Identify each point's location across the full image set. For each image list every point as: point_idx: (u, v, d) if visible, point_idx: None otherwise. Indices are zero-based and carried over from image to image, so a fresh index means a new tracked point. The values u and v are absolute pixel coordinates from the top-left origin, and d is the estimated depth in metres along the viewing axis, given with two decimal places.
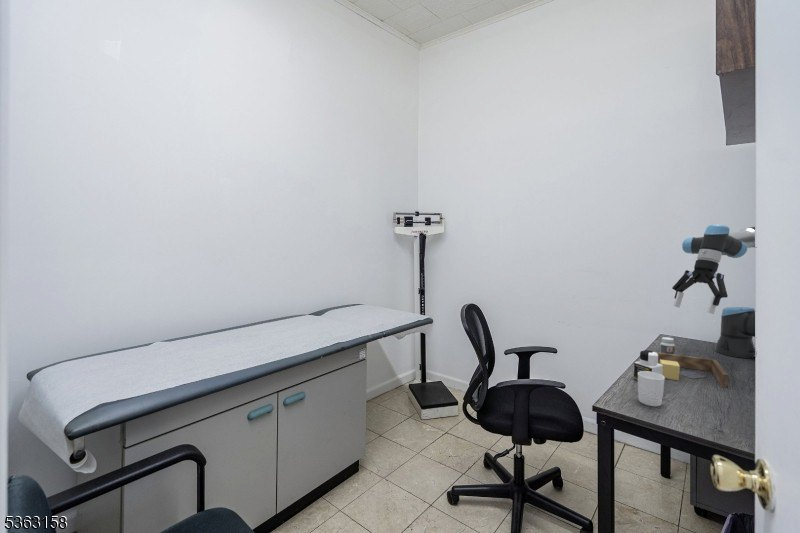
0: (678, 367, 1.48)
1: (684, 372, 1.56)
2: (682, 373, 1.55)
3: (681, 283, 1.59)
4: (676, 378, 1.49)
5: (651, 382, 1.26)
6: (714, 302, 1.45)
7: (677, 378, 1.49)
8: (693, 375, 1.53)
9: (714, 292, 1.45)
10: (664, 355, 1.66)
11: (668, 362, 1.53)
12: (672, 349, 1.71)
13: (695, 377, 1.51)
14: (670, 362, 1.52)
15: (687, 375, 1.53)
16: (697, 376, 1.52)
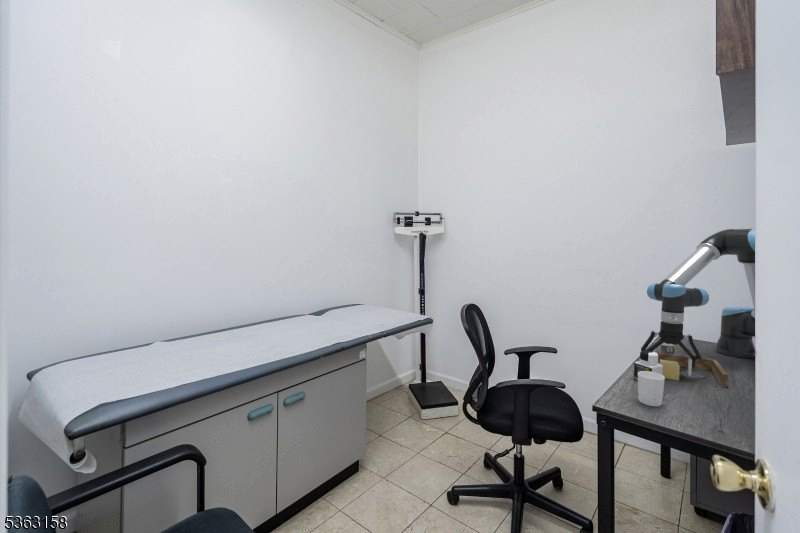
0: (678, 367, 1.48)
1: (684, 372, 1.56)
2: (682, 373, 1.55)
3: (648, 344, 1.55)
4: (676, 378, 1.49)
5: (651, 382, 1.26)
6: (692, 365, 1.48)
7: (677, 378, 1.49)
8: (693, 375, 1.53)
9: (691, 355, 1.47)
10: (664, 355, 1.66)
11: (668, 362, 1.53)
12: (672, 349, 1.71)
13: (695, 377, 1.51)
14: (670, 362, 1.52)
15: (687, 375, 1.53)
16: (697, 376, 1.52)
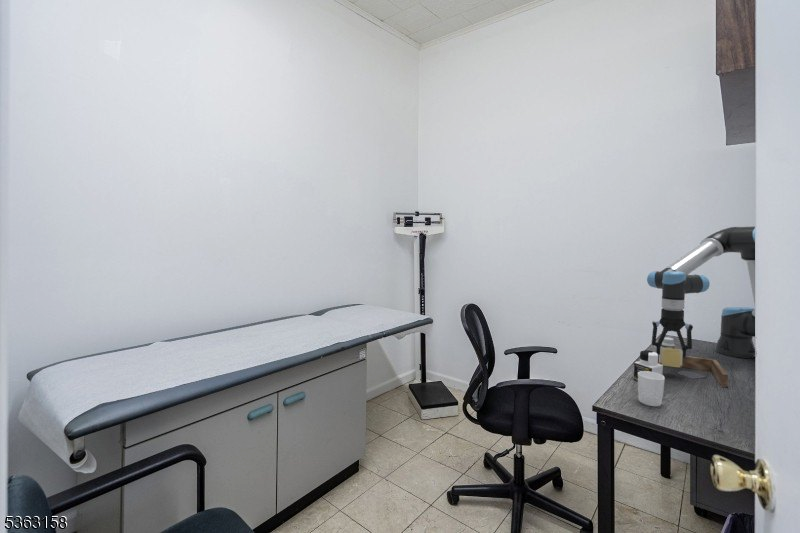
0: (679, 354, 1.48)
1: (684, 372, 1.56)
2: (682, 373, 1.55)
3: None
4: (677, 365, 1.49)
5: (651, 382, 1.26)
6: (683, 355, 1.49)
7: (678, 365, 1.48)
8: (693, 375, 1.53)
9: (683, 345, 1.48)
10: None
11: (669, 349, 1.52)
12: None
13: (695, 377, 1.51)
14: (671, 350, 1.52)
15: (687, 375, 1.53)
16: (697, 376, 1.52)
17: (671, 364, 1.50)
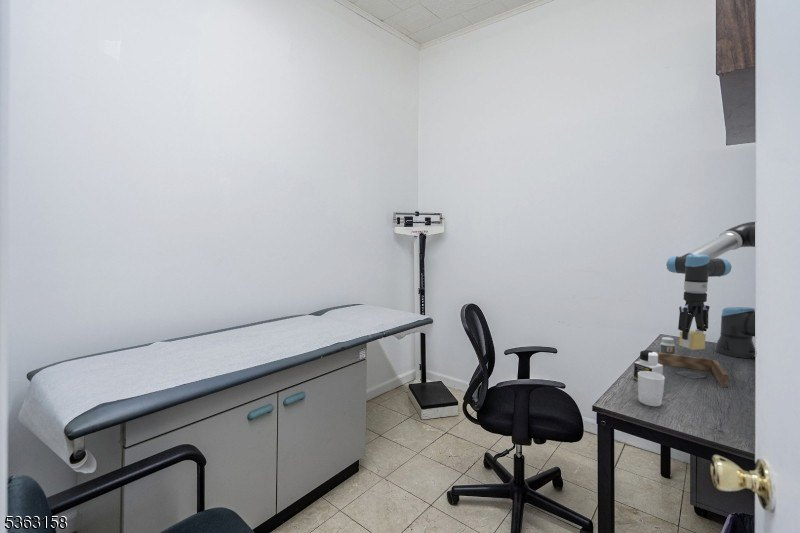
0: (704, 335, 1.50)
1: (684, 372, 1.56)
2: (682, 373, 1.55)
3: None
4: (703, 347, 1.50)
5: (651, 382, 1.26)
6: None
7: (703, 346, 1.50)
8: (693, 375, 1.53)
9: (703, 326, 1.52)
10: (664, 355, 1.66)
11: None
12: (672, 349, 1.71)
13: (695, 377, 1.51)
14: (693, 333, 1.52)
15: (687, 375, 1.53)
16: (697, 376, 1.52)
17: (699, 347, 1.50)
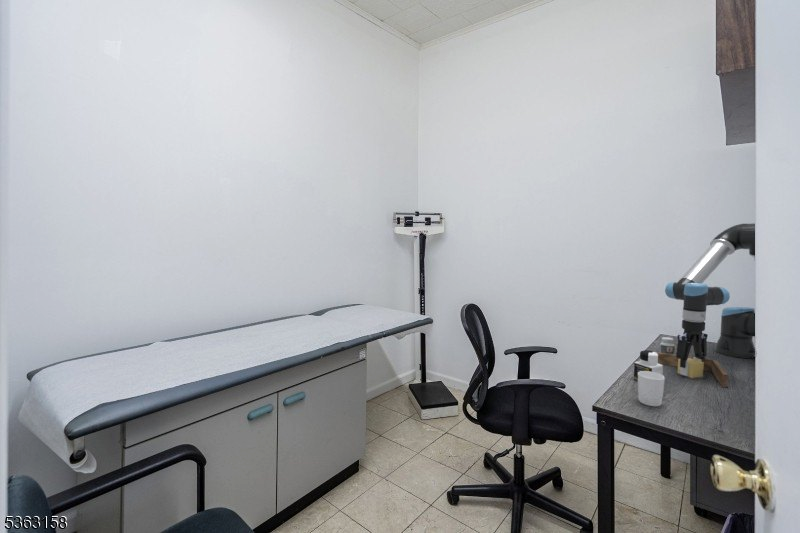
0: (702, 363, 1.51)
1: None
2: None
3: None
4: (701, 374, 1.51)
5: (651, 382, 1.26)
6: None
7: (702, 374, 1.51)
8: None
9: (701, 354, 1.53)
10: (664, 355, 1.66)
11: (689, 360, 1.54)
12: (672, 349, 1.71)
13: (695, 377, 1.51)
14: (691, 360, 1.53)
15: None
16: None
17: (697, 375, 1.51)
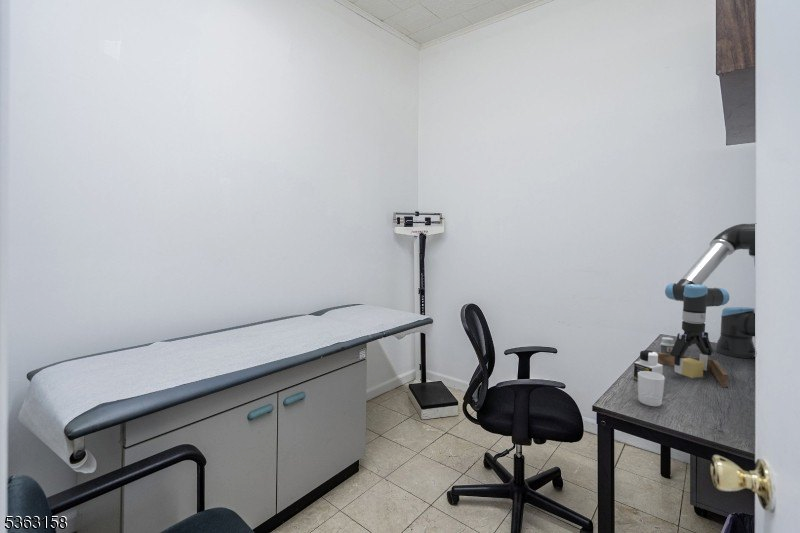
0: (702, 363, 1.51)
1: None
2: None
3: None
4: (701, 374, 1.51)
5: (651, 382, 1.26)
6: None
7: (702, 374, 1.51)
8: None
9: (706, 351, 1.53)
10: (664, 355, 1.66)
11: (689, 360, 1.54)
12: None
13: (695, 377, 1.51)
14: (691, 360, 1.53)
15: None
16: None
17: (697, 375, 1.51)
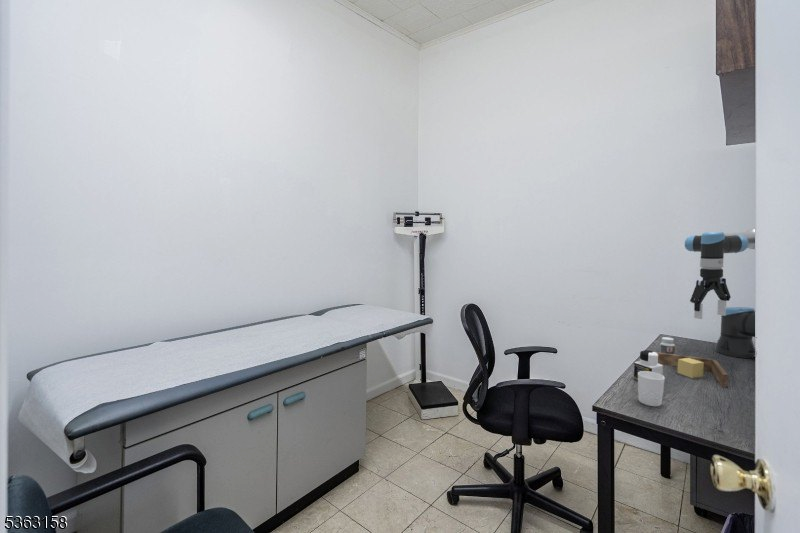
0: (702, 363, 1.51)
1: None
2: None
3: None
4: (701, 374, 1.51)
5: (651, 382, 1.26)
6: None
7: (702, 374, 1.51)
8: None
9: (725, 296, 1.58)
10: (664, 355, 1.66)
11: (689, 360, 1.54)
12: (672, 349, 1.71)
13: (695, 377, 1.51)
14: (691, 360, 1.53)
15: None
16: None
17: (697, 375, 1.51)
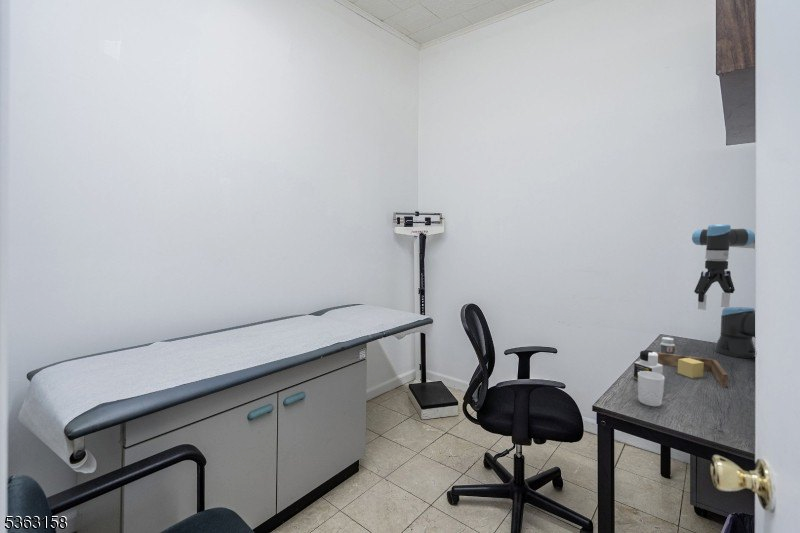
0: (702, 363, 1.51)
1: None
2: None
3: None
4: (701, 374, 1.51)
5: (651, 382, 1.26)
6: None
7: (702, 374, 1.51)
8: None
9: (729, 289, 1.60)
10: (664, 355, 1.66)
11: (689, 360, 1.54)
12: (672, 349, 1.71)
13: (695, 377, 1.51)
14: (691, 360, 1.53)
15: None
16: None
17: (697, 375, 1.51)
